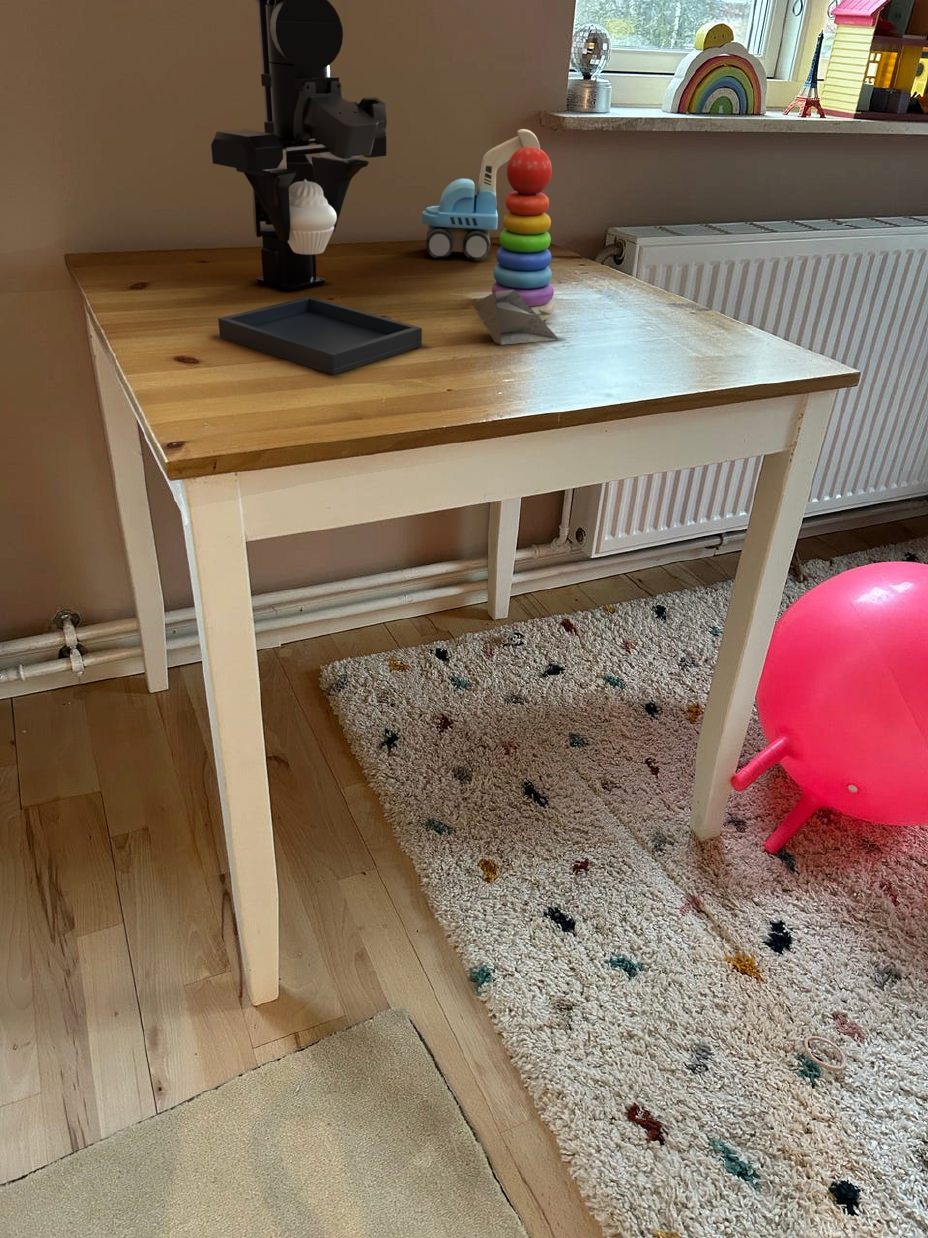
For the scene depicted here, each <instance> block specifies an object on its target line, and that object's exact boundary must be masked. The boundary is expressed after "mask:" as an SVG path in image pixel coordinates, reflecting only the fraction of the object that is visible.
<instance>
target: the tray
mask: <svg viewBox="0 0 928 1238" xmlns="http://www.w3.org/2000/svg"><path fill="white" fill-rule="evenodd" d="M217 322H218V331H219V332H218V333H219V338H221V339H223V340H226V341H229V342H232V343H236V344H239V345H242V346H245V347H248V348H250V349H254V350H257V351H259V352H262V353H265V354H267V355H268V354H269V355H272V356H274V357H277V358H281V359H283V360H286V361H290V362H292V363H296V364H297V365H298V364H299V365H302V366H305V367H308V368H309V369H310V368H311V369H314V370H317V371H320V372H323V373H325V374H329V375H331V376H335V375H338V374H339V375H340V374H342V373H344V372H347V371H351V370H354V369H357V368H360V367H363V366H366V365H369V364H372V363H376V362H379V361H382V360H385V359H388V358H391V357H394V356H398V355H400V354H403V353H406V352H409V351H412V350H416V349H418V348H422V346H423V343H422V342H423V328H422V327H421V326H416V325H413V324H410V323H407V322H403V321H399V320H395V319H392V318H388V317H385V316H381V315H378V314H374V313H370V312H367V311H363V310H360V309H356V308H352V307H349V306H345V305H342V304H339V303H335V302H331V301H328V300H324V299H320V298H316V297H313V296H306V297H302V298H298V299H297V298H296V299H293V300H289V301H284V302H280V303H277V304H272V305H268V306H264V307H259V308H255V309H251V310H247V311H243V312H239V313H235V314H230V315H226V316H222V317H219V318H217Z"/></svg>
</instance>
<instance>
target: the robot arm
mask: <svg viewBox="0 0 928 1238" xmlns="http://www.w3.org/2000/svg"><path fill="white" fill-rule="evenodd" d="M255 2H256V4H257V13H258V15H257V16H258V27H259V43H260V44H259V45H260V56H261V57H260V58H261V71H262V73H261V74H260V79H261V80H260V81H261V87H262V88H263V101H264V114H265V115H264V116H265V121H263V125H264V128H263V129H264V131H258V130H251V129H245V128H244V129H233V130H218V131H216V132H215V134H214V136H213V138H212V140H211V143H210V149H211V160H212V164H213V165H219V166H224V167H228V168H233V169H235V171H236V172H239V173H242V174H244V176H245V178H246V179H247V181H248V183H249V185H250V186H251V188H252V216H253V227H254V228H253V229H254V233H255V236H256V238H262V239H261V240H262V247H261V248H260V255H261V269H262V270H261V271H262V276H260V277H257V278H256V281H257V283H260V284H264V285H267V286H270V287H275V288H279V289H281V290H285V291H296V290H300V289H305V288H308V287H309V288H310V287H313V286H316V285H322V284H325V283H326V279H325V278H323V277H320V276H317V257H316V255H317V254H315V255H314V254H313V255H306V254H298V253H295V252H293V250H292V249H291V247H290V245H289V243H288V241H289V237H290V206H289V187H290V186H291V185H292V184H294V183H295V182H299V181H304V180H305V179H306V180H307V181H309V182H314V183H317V184H318V185H319V186H320V187H321V188H322V190H323V195H324V197H325V198H326V199H327V202H328V204H329V205H330V206H331V207H332V208H333V209H334V210H335V212H336V216H337V219H336V223H335V224H334V230H333V232H332V234H333V233H335V232H336V228H337V226H338V221H339V219H340V215H341V212H342V208H343V204H344V201H345V197H346V196H347V195H346V194H347V192H348V188H349V186H350V183H351V182H352V179H353V178H354V177H355V175H356V174H358V173H359V172H360V171H361V170H362V169H363V168H366V167H368V166H369V164H370V161H369V160H365V159H361V158H360V157H361V156H363V157H364V158H368V159H370V158H380V157H387V135H386V134H387V133H386V129H387V123H388V122H387V110H386V103H385V102H384V101H382V100H381V99H379V98H378V97H375V96H374V97H363V98H361V100H360V102H357V101H349V100H347V99H345V98H343V93H342V91H343V90H342V83H341V82H340V77H338V76H331V64H332V63H333V62H334V61H335V60H336V58H337V57H338V55H339V54H340V52H341V48H342V45H343V40H344V29H343V25H342V21H341V17H340V15H339V14H338V11H337V10H336V8H335V7H334V6H333V5H332V3H331V2H330V1H329V0H255ZM316 154H319V155H316ZM308 155H315V156H311V157H310V159H311V160H310V159H309V157H308ZM261 222H264V223H263V224H261Z"/></svg>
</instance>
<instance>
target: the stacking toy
mask: <svg viewBox="0 0 928 1238" xmlns="http://www.w3.org/2000/svg"><path fill="white" fill-rule="evenodd" d="M552 171H553V169H552V162H551V160H550V158H549V156H548V154H547V153H546V152H545V151H544V150H542V149H541V148H540V149H539V148H536V147H524V148H521V149H519V150H517V151H516V152H515V153H514V154H513V155H512V156H511V158H510V160H508V161H507V167H506V176H507V180H508V183H509V185H510V187H511V189H513V191H511V192H510V193H508V194H507V196H506V198H505V207H506V209H507V210H508V212H506V214H504V217H503V220H502V223H503V226H504V228H505V229H503V230H502V231H501V232H500V234H499V243H500V247H499V248H498V250H497V251H496V255H495V256H496V257H495V258H496V261H497V263H498V264H496V265H495V266H494V268H493V278H494V280H495V282H493V284H492V286H491V294H492V293H494V292H498V291H507V290H515V291H516V292H517V293H518V294H519V295H520V296H521V297H522V299H523V300H524V301H525V302H526V303H527V304H528V305H529V306H530V307H531V309H532V310H533V311H534V312H535V313H536V314H541V313H540V312H539V311H538V309H540V310H543V311H545V312H548V313H551V314H550V315H538V316H539V317H540V319H541V320H542V321H543V322H544V321H546V320H548V319H550V318H551V316H553V313H554V310H555V309H554V308H555V307H554V304H553V302H552V299H553V298H554V294H555V290H554V287H553V285H552V284H551V283H550V281H551V280H552V277H553V275H552V274H553V273H552V270H551V268H550V267H549V265H550V264H551V262H552V254H551V253H552V252H551V251H550V250H549V249H548V248H549V247H550V245H551V241H552V239H551V235H550V233H549V232H548V231H549V229H550V227H551V223H552V220H551V217H550V216H549V214H547V213H545V212H546V211H548V210H549V206H550V199H549V197H548V196H547V195H546V194H545V193H542V192H543V191H544V190H545V189H546V188H547V186H548V185H549V182H550V181H551V178H552V173H553V172H552Z"/></svg>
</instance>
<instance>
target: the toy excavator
mask: <svg viewBox="0 0 928 1238" xmlns="http://www.w3.org/2000/svg"><path fill="white" fill-rule="evenodd" d="M524 147H536V148H539V149H541V145H540V141H539V140H538V137H537V136H536V134H535V133H534V132H532V131H531V130H529V129H526V128H521V129H518V130H517V136H515V137H512V138H510V139H508V140H506V141H504V142H502V143H500V144H498V145H496V146H494V147H492V148H490V149H489V150H488V151H487V152H486V153H484V155H483V158H482V161H481V165H480V170H479V178H478V185H477V190H476V185H475V182H474V181H473V180H472V179H470V178H457V179H455V180H453V181H452V182H450V183H449V184H448V185H447V186H446V187H445V189H443V191H442V193H441V195H440V198H439V205H432V206H428V207H426V208H425V210H423V211H422V213H421V214H422V215H421V223H423V225H426V226H427V231H426V238H425V247H426V251H427V252H428V254H429V255H430V256H431V257H432V258H434V259H438V258H439V259H440V258H447V257H449V255H451V253H452V252H455V253H456V252H457V253H463V254H464V255H465V256H466V258H467V259H472V260H473V261H474V262H479V261H483V260H484V259H485V258H487V256H488V255H489V253H490V250H491V241H490V231H496V230H498V221H499V215H498V210H497V202H498V201H497V200H498V199H497V171H498V170H499V168H500V167H502V165H504V164H506V163H508V162H509V160H510V158H511V156H512V155H513V154H514V153H515V152H516V151H517V150H519V149H521V148H524ZM476 191H477V193H476Z"/></svg>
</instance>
